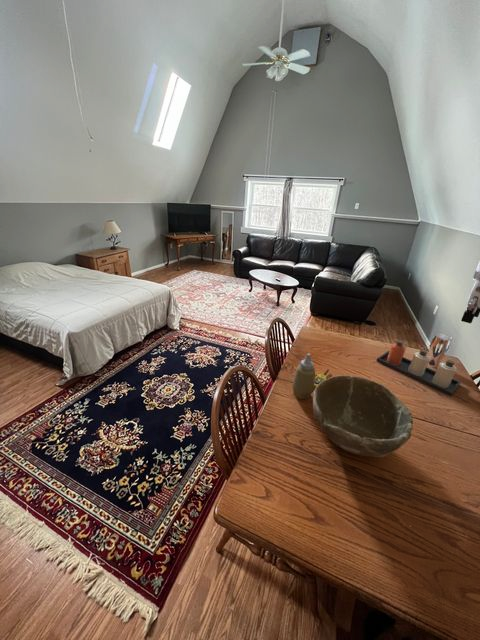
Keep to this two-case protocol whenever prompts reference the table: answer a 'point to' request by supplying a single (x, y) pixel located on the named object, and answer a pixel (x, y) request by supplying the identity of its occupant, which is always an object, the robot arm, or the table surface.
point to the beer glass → (438, 349)
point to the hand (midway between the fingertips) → (469, 319)
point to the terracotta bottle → (396, 353)
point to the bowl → (361, 415)
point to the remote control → (319, 379)
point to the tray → (423, 379)
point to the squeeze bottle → (304, 378)
